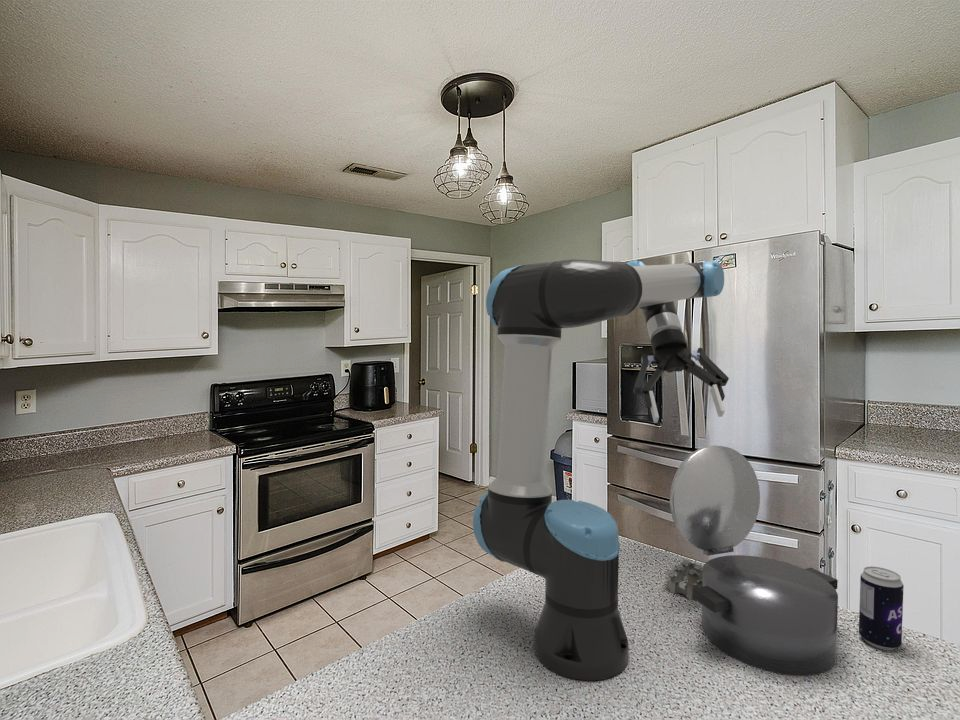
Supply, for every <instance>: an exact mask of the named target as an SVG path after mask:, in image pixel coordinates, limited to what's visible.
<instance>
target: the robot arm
mask: <svg viewBox="0 0 960 720" xmlns="http://www.w3.org/2000/svg"><path fill="white" fill-rule="evenodd" d="M724 286H725V272H724V268H723V266H722V264H721V263H720V262H719V261H717V260H716V261H715V260H714V261H712V260H711V261H709V260H708V261H706V260H703V261H699V262H691V263H690V262H688V263H670V264H654V265H648V264H646V263H644V262H643V261H640V260H635V259H634V260H630V261H628V262H624V261H608V260H607V261H606V260H594V259H593V260H592V259H576V258H575V259H574V258H573V259H562V260H555V261H548V262H539V263H530V264H520V265H516V266H514V267H510V268H506V269H504V270H502V271H500V272H499V273H498V274H497V275H496V276H495V277H494V278H493V280H492V281H491V282H490V284H489V287H488V289H487V292H486V300H485V306H486V307H485V308H486V313H487V315H488V316H490V317H489V320H490V323H492V324H493V326H495V327H496V328H497V332H496V333H497V336H496V337H497V338H498V339H499V341H500V342H501V344H503V346H504V357H503V358H504V359H503V376H502V389H501V390H502V393H501V408H500V409H501V410H500V424H499V425H500V427H499V441H498V442H499V443H498V444H499V445H498V455H497V456H498V461H497V472H496V473H497V476H496V478H495V479H493V480H492V482H490V483H489V484H488V486H487V487H488V488H487V489H488V490H487V492H486V493H484V494H483V495H482V496H481V497H480V498H479V500H478V502H479V504H478V505H476V506H475V509H474V511H473V516H472V517H473V518H472V529H473V535H474V537H475V540H476V542H477V543H478V546H479V547H480V548H481V549H482V550H483V552H485V553H487V554H488V555H489V556H492V557H493V558H495V559H496V560H498V561H500V562H505V563H508V564H510V565H513V566H515V567H517V568H520V569H521V570H524V571H527V572H529V573H531V574H535V575H537V576H539V577H542V578H543V579H544V580H545V583H544V584H545V587H544V588H545V600H544V603H543V607H542V610H541V613H540V615H539V619H538V622H537V625H536V628H535V630H534V652H535V655H536V657H537V659H538V660H539V661H540V662H541V663H542V664H543V666H545V667H547V668H548V669H549V670H550V671H552V672H555V673H557V674H559V675H561V676H564V677H566V678H569V679H574V680H581V681H601V680H606V679H609V678H612V677H614V676H615V677H616V676H617V675H619V674H620V673H621V672H622V671H624V670H625V669H626V667H627V665H628V663H629V656H630V655H629V653H630V650H629V649H630V645H629V639H628V636H627V633H626V630H625V626H624V623H623V620H622V617H621V613H620V611H619V568H620V566H619V563H620V562H619V561H620V559H619V558H620V557H619V556H620V555H619V554H620V549H621V548H620V547H621V546H620V540H619V530H618V529H619V528H618V524H617V522H616V520H615V518H614V517H613V516H612V515H611V513H610V512H608V511H607V510H606V509H604V508H603V507H600V506H598V505H596V504H593V503H590V502H587V501H583V500H578V501H575V500H574V499H559V500H555V501H553V502H552V499H553V489H552V488H551V487H550V486H549V484H547V482H546V481H545V475H546V460H547V459H546V458H547V457H546V455H547V440H548V422H549V421H548V420H549V404H550V389H551V386H550V385H551V373H552V371H551V370H552V353H553V348H554V347H555V346H556V345H557V344H559V343H560V341H561V340H562V331H563V330H562V329H572V328H574V329H575V328H580V327H584V326H589V325H593V324H597V323H600V322H604V321H608V320H611V319H616V318H620V317H624V316H627V315H629V314H631V313H632V312H634V311H635V310H636V309H640V310H641V312H642V313H643V318H644V321H645V324H646V325H645V326H646V327H647V332H648V336H649V339H650V343H651V344H650V345H651V348H652V352H653V355H648V354H647V353H643V354H642V355H641V359H640V364H641V367H640V369H639V372H638V374H637V377H636V380H635V384H634V387H633V394H634V395H641V397H642V398H643V403H644V406H645V408H646V409H650V412H651V417H652V420H653V423H654V424H657V423H658V421H659V419H660V416H659V412H658V411H659V410H658V408H657V403H656V399H655V395H654V391H653V390H652V389H653V387H654V386H655V385H656V383H657V382H658V380H659V378H660V377H661V376H662V375H663V373H664V372H666V373H668V374H669V373H674V372H677V373H679V372H683V371H685V372H686V373H688V374H691V375H693V376H695V377H696V378H698V379H699V380H701V382H704V383H705V384H707V385H708V386H709V387H711V388H710V390H709V391H710V394H711V397H712V401H713V403H714V406H715V410H716V412H717V417H718V418H722V417H723V415H724V414H725V412H726V410H725V406H724V404H723V401H724V400H725V397H726V395H725V392H724V388H723V387H725V386H726V385H727V383H728V381H729V379H730V378H729V376H728V375H726V373H725V372H723V370H722V369H721V368H719V366H717V364H716V363H714V362H713V361H712V359H710V358H709V356H708V355H707V354H706V353H705V352H706V351H705V350H704V348H703V347H698V348H697V350H690V349H689V348H688V345H687V341H686V338H685V333H683V327H682V325H681V321H680V319H679V316H678V312H677V308H676V306H675V302H676V301H681V300H689V299H698V298H703V299H705V298H706V299H707V298H709V297H717V296H719V295H720V294H721V293H722V292H723V289H724ZM691 358H693V359H694V360H695V361H697V362H698V363H699V364H700V365H701V366H702V367H701V366H700V365H698V364H696V362H695V361H694V360H693V359H691ZM652 362H653V363H654V364H656V365H657V367H656V369H655V370H654V372H653V373H652V375H651V376H650V378H649V379H648V380H647V382H646V383H645V385H644V386H642V384H643V382H644V379H645V375H646V372H647V369H648V366H651V364H652Z"/></svg>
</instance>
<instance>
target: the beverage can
mask: <svg viewBox="0 0 960 720" xmlns="http://www.w3.org/2000/svg"><path fill="white" fill-rule="evenodd" d="M859 581H860V585H859V586H860V587H859V612H858V613H859V614H858V616H859V617H858V619H859V620H858V634H859V635H860V636H861V638H862V639H863V640H864V641H865V643H867V644H868V645H870V646H871V647H874V648H877V649H879V650H884V651H894V650H895V649H898V648H899V647H901V646H902V643H903V642H902V641H903V639H902V638H903V637H902V635H903V615H904V614H903V611H904V587H905V586H904V584H903V581H902V580H901V575H900V574H899V573H898V572H896V571H894V570H892V569H891V570H890V569H887V568H884V567H880V566H865V567H863V571H862V573H861V574H860V579H859Z"/></svg>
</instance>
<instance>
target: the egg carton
mask: <svg viewBox="0 0 960 720" xmlns="http://www.w3.org/2000/svg"><path fill="white" fill-rule="evenodd" d="M684 577H687V583H686V584H684V583H681V582H683V581H684V579H685V578H684ZM664 579H665V580H666V589H668V590H670V593H672V594H683V595H685V596H686V598H687V599H689V600H695V599H694V598H693V588H698V587H702V586H703V566H702V565H701V564H698V563H696V562H691V561H690V560H688V559H686V558H684V559H682V561H681V562H680V563H678V564H675V565H674V566H673V567H672V568H671V569H670V570H666V571H665V572H664Z"/></svg>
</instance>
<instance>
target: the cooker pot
mask: <svg viewBox="0 0 960 720" xmlns="http://www.w3.org/2000/svg"><path fill="white" fill-rule="evenodd" d="M702 567H703V586H702V587H698V588H693V598H694V599H693V600H695V601H697V602H698V603H699V604H701V629H702V631H703V633H704V636H706V638H707V639H708V641H710V643H711V644H712V645H714V646H715V647H716V648H717V649H719V650H720V651H721V652H723V653H724V654H726V655H727V656H730V657H731V658H732V659H735V660H737V661H739V662H741V663H744V664H746V665H748V666H751V667H754V668H756V669H760V670H763V671H766V672H769V673H770V672H771V673H774V674H775V673H776V674H782V675H788V676H813V675H819V674H822V673H825V672H827V671H829V670H830V669H831V668H832V667H834V666H835V663H837V662H836V661H837V649H838V648H837V642H838V639H837V638H838V637H837V636H838V611H839V610H838V608H839V607H838V606H839V604H838V603H839V596H838V595H839V594H838V592H837V590H838V582H839V581H838V579H837V578H835V577H833V576H831V575H829V574H826V573H824V572H822V571H820V570H817V569H815V568H813V567H808V568H807V567H806V568H803V567H800V566H798V565H795V564H792V563H788V562H785V561H782V560H778V559H773V558H768V557H763V556H762V557H761V556H756V555H746V554H745V555H742V554H741V555H740V554H739V555H738V554H737V555H736V554H734V555H732V554H731V555H730V554H729V555H724V556H722V555H721V556H718V557H714V558H712V559H710V560H708V561H706V562H705V563H704V564H703V566H702Z"/></svg>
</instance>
